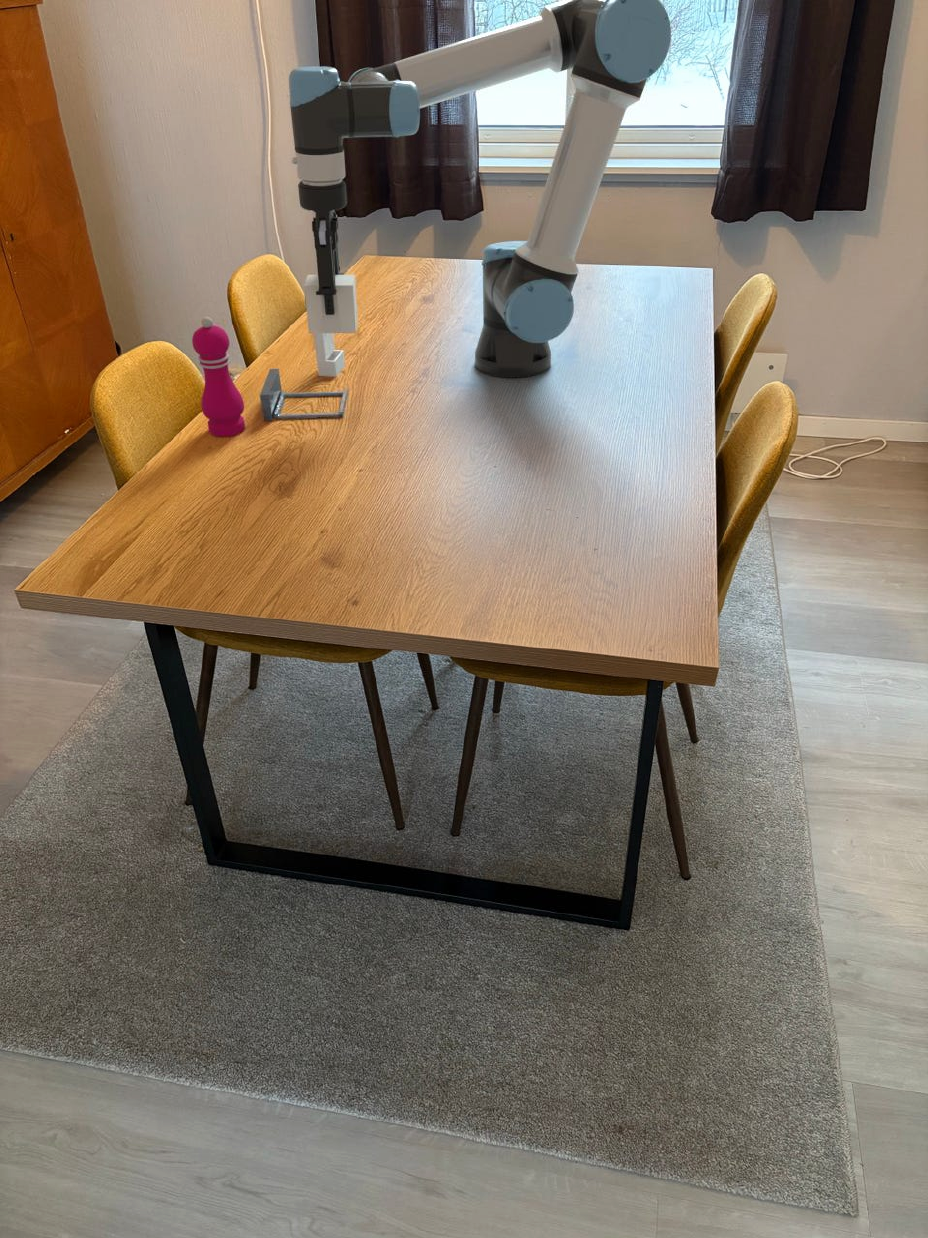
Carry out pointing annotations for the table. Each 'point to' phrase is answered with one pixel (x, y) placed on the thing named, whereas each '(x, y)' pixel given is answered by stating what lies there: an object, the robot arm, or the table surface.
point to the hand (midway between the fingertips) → (333, 324)
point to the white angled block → (328, 355)
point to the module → (345, 304)
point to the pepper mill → (218, 381)
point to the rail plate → (275, 396)
